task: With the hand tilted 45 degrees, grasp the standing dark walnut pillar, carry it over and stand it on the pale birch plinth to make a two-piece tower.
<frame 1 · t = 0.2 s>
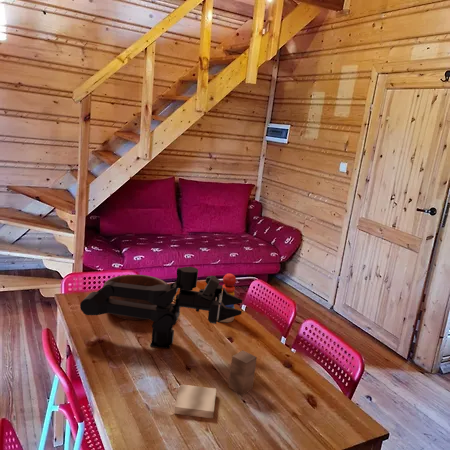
hand: (241, 306, 140), 17 cm above the table, tool horizontal, fingers open, 9 cm apart
birch plinth: (195, 403, 115), on the table
walnut pillar: (240, 387, 124), on the table
stacking toy: (223, 319, 168), on the table
wooden bowl: (135, 310, 168), on the table
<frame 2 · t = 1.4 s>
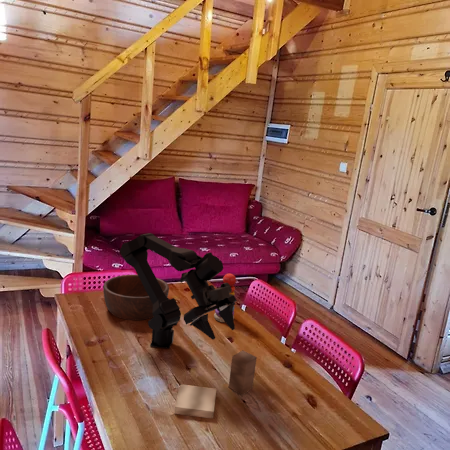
hand: (224, 334, 126), 14 cm above the table, tool tilted 45°, fingers open, 9 cm apart
nothing on the table moved.
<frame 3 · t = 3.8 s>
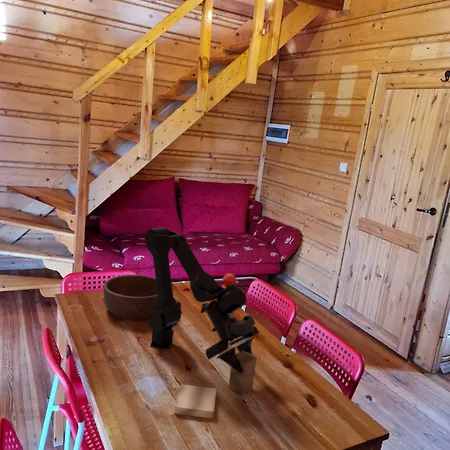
hand: (247, 369, 122), 7 cm above the table, tool tilted 45°, fingers closed on walnut pillar, 5 cm apart
walnut pillar: (240, 387, 124), on the table, touching gripper
everything else where it was.
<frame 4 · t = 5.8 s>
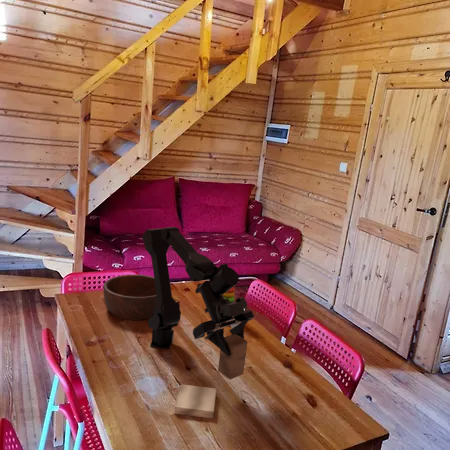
hand: (236, 353, 116), 13 cm above the table, tool tilted 45°, fingers closed on walnut pillar, 5 cm apart
walnut pillar: (230, 372, 119), point 7 cm above the table, touching gripper
everything else where it was.
when the fingers open (9 cm above the table, at t = 8.1 s): walnut pillar stays where it is, resting on birch plinth.
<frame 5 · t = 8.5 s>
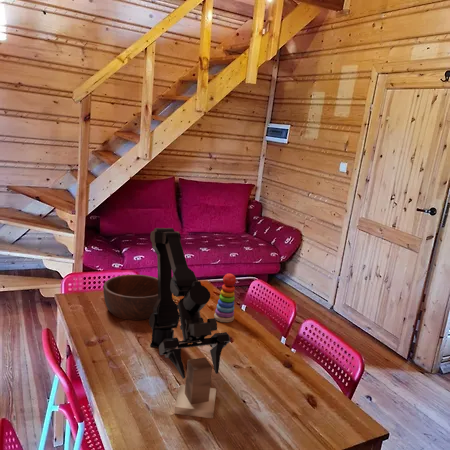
hand: (200, 375, 111), 9 cm above the table, tool tilted 45°, fingers open, 9 cm apart
walnut pillar: (196, 397, 114), point 2 cm above the table, touching birch plinth
everything else where it was.
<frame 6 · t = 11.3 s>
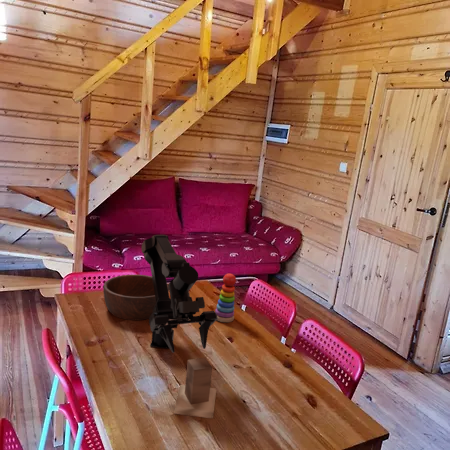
hand: (189, 350, 119), 11 cm above the table, tool tilted 45°, fingers open, 9 cm apart
nothing on the table moved.
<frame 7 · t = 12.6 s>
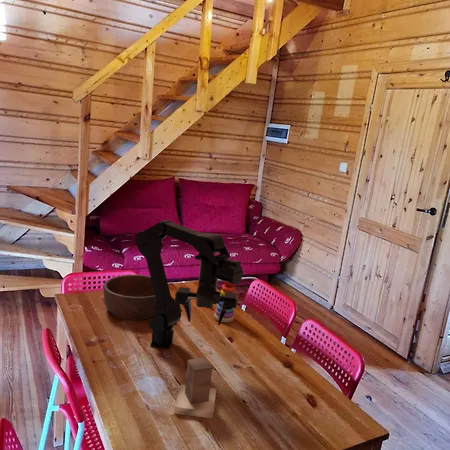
hand: (204, 323, 133), 13 cm above the table, tool pointing down, fingers open, 9 cm apart
nothing on the table moved.
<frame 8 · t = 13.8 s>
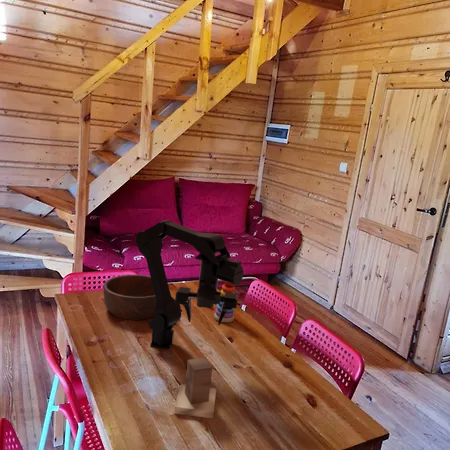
hand: (204, 323, 133), 13 cm above the table, tool pointing down, fingers open, 9 cm apart
nothing on the table moved.
at the end: walnut pillar inside the target area on the birch plinth (0.0 cm from its centre), point 2.0 cm above the birch plinth's base; walnut pillar tilted 0°; the gripper is holding nothing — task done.
